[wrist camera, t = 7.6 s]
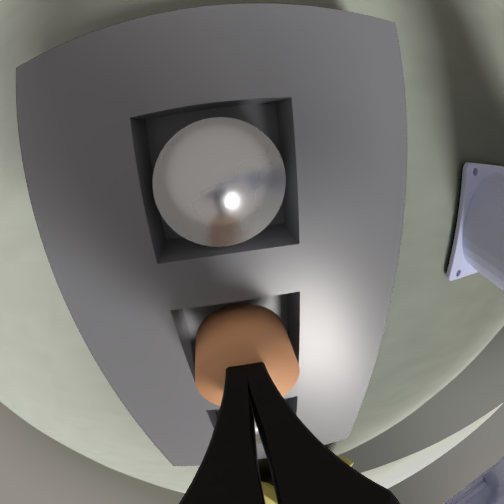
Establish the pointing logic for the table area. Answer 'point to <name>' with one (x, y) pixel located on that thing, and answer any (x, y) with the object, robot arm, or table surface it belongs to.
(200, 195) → the plunger
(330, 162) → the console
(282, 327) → the orange plunger
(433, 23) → the table surface
